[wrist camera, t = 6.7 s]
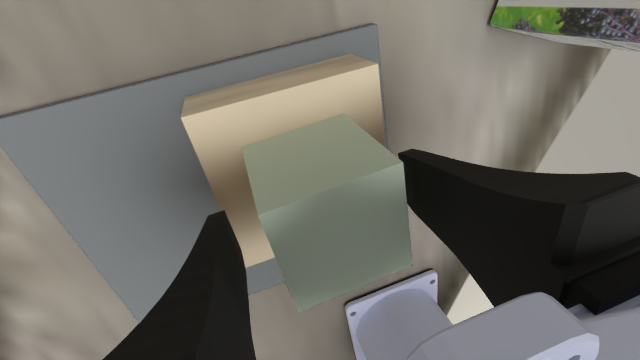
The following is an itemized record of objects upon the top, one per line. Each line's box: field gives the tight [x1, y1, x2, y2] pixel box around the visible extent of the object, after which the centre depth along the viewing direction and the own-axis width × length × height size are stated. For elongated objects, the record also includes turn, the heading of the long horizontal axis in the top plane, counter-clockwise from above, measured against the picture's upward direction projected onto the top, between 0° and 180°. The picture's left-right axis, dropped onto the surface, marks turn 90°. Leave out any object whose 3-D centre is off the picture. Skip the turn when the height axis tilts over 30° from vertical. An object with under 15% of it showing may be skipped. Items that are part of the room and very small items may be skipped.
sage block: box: [241, 113, 413, 313], centre depth 13 cm, size 4×4×5 cm
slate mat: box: [0, 23, 387, 323], centre depth 18 cm, size 14×17×1 cm
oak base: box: [181, 54, 385, 268], centre depth 16 cm, size 8×8×3 cm
